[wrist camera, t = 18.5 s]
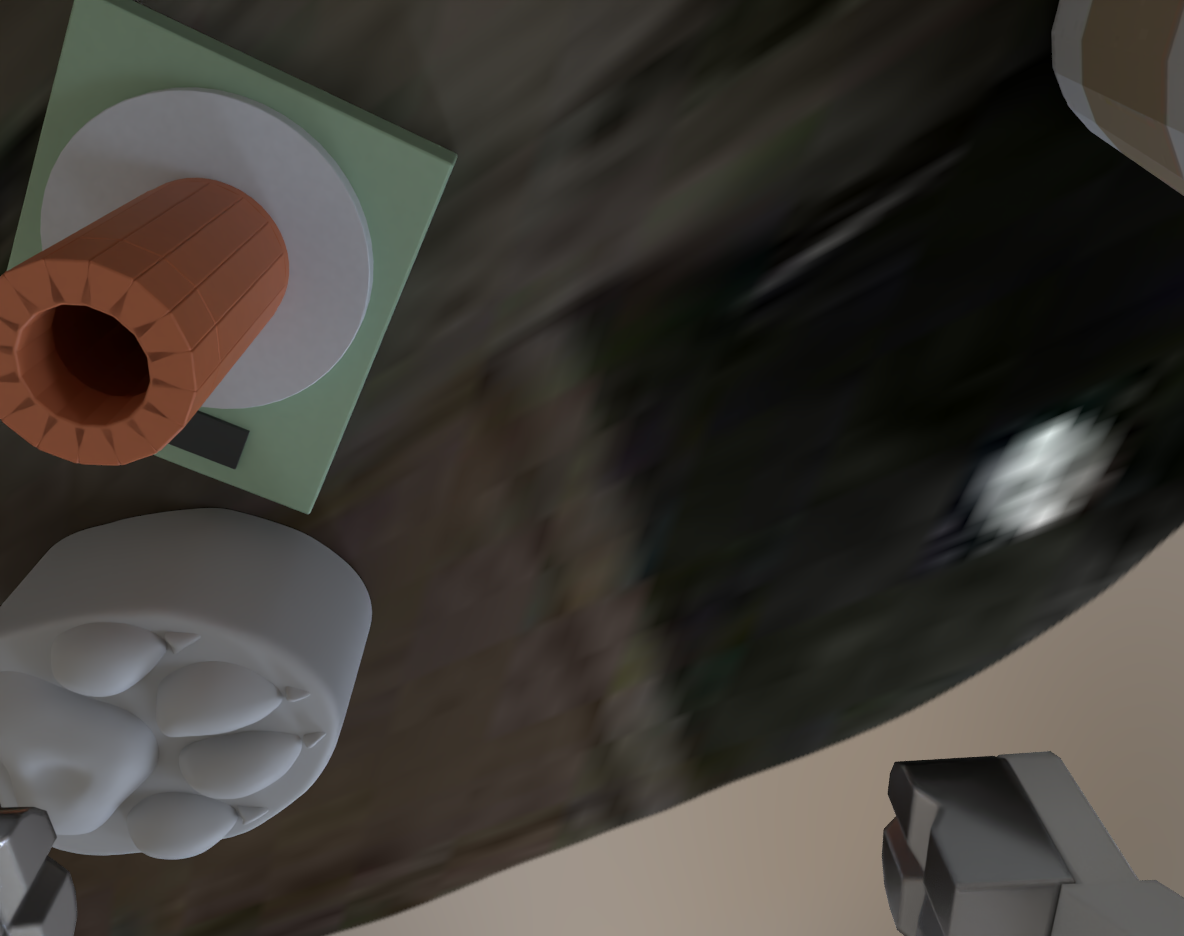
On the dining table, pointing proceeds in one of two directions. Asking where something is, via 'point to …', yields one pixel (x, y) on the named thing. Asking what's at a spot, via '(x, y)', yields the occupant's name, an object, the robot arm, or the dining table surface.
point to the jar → (136, 320)
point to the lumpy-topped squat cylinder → (175, 679)
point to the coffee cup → (1126, 77)
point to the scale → (274, 180)
